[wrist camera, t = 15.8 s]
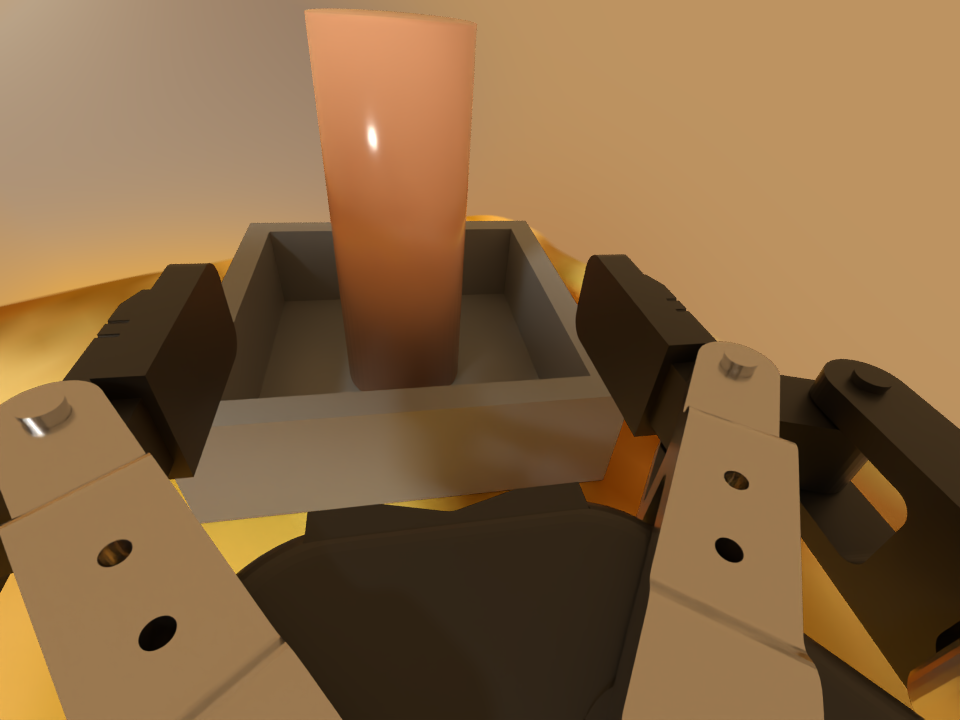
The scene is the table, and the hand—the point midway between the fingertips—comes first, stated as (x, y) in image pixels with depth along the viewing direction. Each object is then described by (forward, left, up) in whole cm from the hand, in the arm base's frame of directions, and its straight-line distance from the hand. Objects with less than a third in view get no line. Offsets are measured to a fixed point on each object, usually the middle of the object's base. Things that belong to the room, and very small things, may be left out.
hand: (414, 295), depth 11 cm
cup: (0, +10, -10) cm, 15 cm away
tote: (0, +11, -11) cm, 15 cm away
